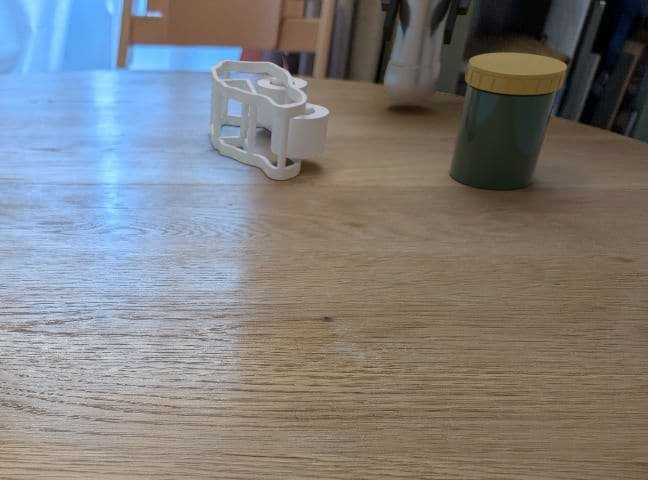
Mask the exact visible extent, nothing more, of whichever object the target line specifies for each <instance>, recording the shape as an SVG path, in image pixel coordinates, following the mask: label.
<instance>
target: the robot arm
mask: <svg viewBox="0 0 648 480" xmlns="http://www.w3.org/2000/svg"><path fill="white" fill-rule="evenodd" d="M471 2H472V0H451V3H450V7H449V11H448V15H447V19H446V21H445V28H444V32H443V41H442V45H449V46H451V43H452V39H453V34H454V31H455V26H456V23H457V18H458V16H467V14H468V13H469V11H470V8H471ZM399 8H400V0H380V9H381V12H385V13H386V14H385V18H384V22H383V25H382V33H383V36H382V37H383V38H382V39H383V42H391V40H392V39H391V38H392V35H393V32H394V27H395V23H396V21H397V16H398V13H399Z"/></svg>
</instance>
